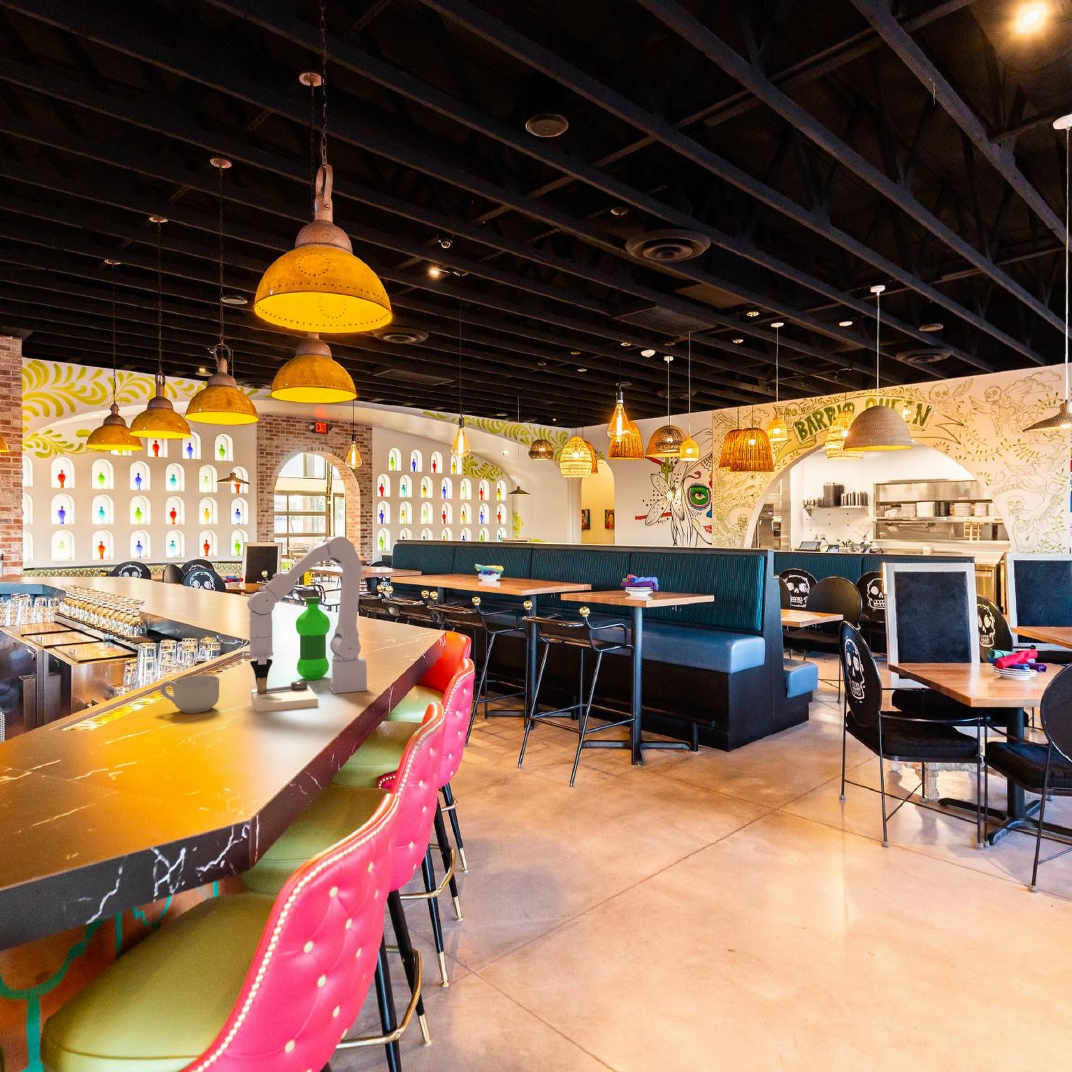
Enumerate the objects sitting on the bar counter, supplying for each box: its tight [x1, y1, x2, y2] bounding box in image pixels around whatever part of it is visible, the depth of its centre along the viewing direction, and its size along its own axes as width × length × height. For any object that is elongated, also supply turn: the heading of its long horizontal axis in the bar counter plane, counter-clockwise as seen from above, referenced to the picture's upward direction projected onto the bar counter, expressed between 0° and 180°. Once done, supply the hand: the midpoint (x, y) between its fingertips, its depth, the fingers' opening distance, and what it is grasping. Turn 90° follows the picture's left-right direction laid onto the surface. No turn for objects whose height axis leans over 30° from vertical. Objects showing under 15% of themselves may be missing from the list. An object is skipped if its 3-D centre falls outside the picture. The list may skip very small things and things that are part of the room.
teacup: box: [160, 674, 221, 714], centre depth 185 cm, size 14×11×8 cm
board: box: [250, 684, 319, 713], centre depth 195 cm, size 15×19×2 cm
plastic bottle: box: [295, 596, 331, 681], centre depth 227 cm, size 10×10×25 cm
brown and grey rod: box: [252, 677, 309, 694], centre depth 198 cm, size 15×4×4 cm, turn 126°
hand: (261, 687), depth 197 cm, fingers closed
